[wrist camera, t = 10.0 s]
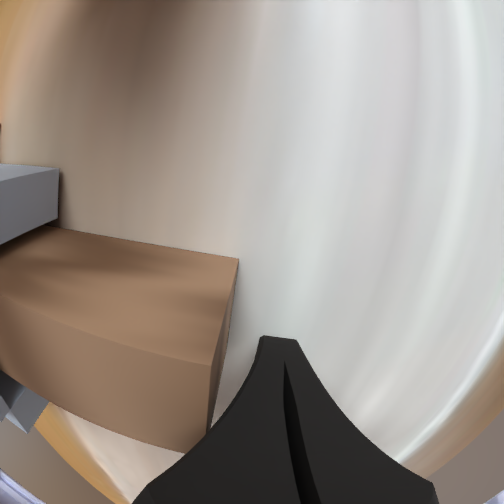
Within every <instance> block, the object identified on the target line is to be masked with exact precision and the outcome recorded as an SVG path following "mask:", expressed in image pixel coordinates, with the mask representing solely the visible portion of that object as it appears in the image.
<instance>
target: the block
mask: <svg viewBox="0 0 504 504" xmlns="http://www.w3.org/2000/svg"><path fill="white" fill-rule="evenodd" d="M58 183H59V168H51V167H40V166H28V165H15V164H0V245H1V244H3V243H5V242H7V241H9V240H11V239H13V238H15V237H17V236H19V235H21V234H23V233H25V232H27V231H30V230H32V229H34V228H36V227H38V226H41V225H43V224H45V223H47V222H50V221H52V220H54V219H57V218H58ZM48 403H49V401H48V400H46V399H45V398H43V397H41V396H39V395H38V394H36V393H35V392H33V391H31V390H30V389H28V388H27V387H25V386H24V385H22V384H20V383H19V382H18V381H16V380H15V379H13V378H12V377H10V376H9V375H8V374H6V373H5V372H3V371H2V370H1V369H0V421H1V422H2V421H3V419H4V417H6V418H8V419H9V420H10V421H11V422H13V423H14V424H15V425H16V426H18V427H19V428H20V429H22V430H23V431H24V432H26V433H27V434H28V433H29V431H30V430H31V428H32V427H33V425H34V424H35V422H36V421H37V419H38V418H39V416H40V415H41V413H42V412H43V410H44V409H45V407H46V406H47V404H48Z"/></svg>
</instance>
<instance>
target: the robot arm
mask: <svg viewBox="0 0 504 504" xmlns="http://www.w3.org/2000/svg"><path fill="white" fill-rule="evenodd" d="M0 504H46V503H45V502H43V501H42V500H40V499H39V498H37V497H36V496H34V495H33V494H31V493H30V492H29V491H27V490H26V489H25V488H23V487H22V485H20V484H19V483H18V482H17V481H15V480H14V479H13V478H12V477H10V476H9V475H8V474H7V473H5V472H4V471H3V470H2V469H1V468H0ZM132 504H439V502H438V498H437V495H436V492H435V488H434V486H433V483H432V482H430V481H428V480H426V479H424V478H422V477H420V476H419V475H417V474H415V473H413V472H411V471H410V470H408V469H406V468H405V467H403V466H402V465H400V464H399V463H397V462H396V461H395V460H393V459H392V458H390V457H389V456H388V455H386V454H385V453H384V452H383V451H381V450H380V449H379V448H378V447H377V446H376V445H374V444H373V443H372V442H371V441H370V440H369V439H368V438H367V437H365V436H364V435H363V434H362V433H361V432H360V431H359V430H358V429H357V428H356V427H355V426H354V424H353V423H352V422H351V421H350V420H349V419H348V418H347V417H346V416H345V414H344V413H343V412H342V411H341V409H340V408H339V407H338V406H337V404H336V403H335V402H334V400H333V399H332V398H331V396H330V395H329V393H328V392H327V391H326V389H325V388H324V386H323V385H322V383H321V381H320V380H319V378H318V377H317V375H316V374H315V372H314V370H313V369H312V367H311V365H310V363H309V362H308V360H307V358H306V356H305V355H304V353H303V351H302V349H301V347H300V345H299V343H298V342H297V340H294V339H287V338H279V337H272V336H265V335H264V336H262V337H260V339H259V343H258V348H257V352H256V356H255V360H254V363H253V365H252V367H251V369H250V371H249V374H248V376H247V378H246V379H245V381H244V383H243V385H242V386H241V388H240V390H239V391H238V393H237V395H236V396H235V398H234V399H233V401H232V402H231V404H230V405H229V406H228V408H227V409H226V411H225V412H224V413H223V415H222V416H221V417H220V418H219V420H218V421H217V422H216V423H215V424H214V425H213V427H212V428H211V429H210V430H209V431H208V432H207V434H206V435H205V436H204V437H203V438H202V439H201V440H200V441H199V442H198V443H197V444H196V445H195V446H194V447H193V448H192V449H191V450H190V451H188V452H187V453H186V454H185V455H184V456H183V457H182V458H181V459H180V460H179V461H177V462H176V463H175V464H174V465H173V466H171V467H170V468H169V469H167V470H166V471H165V472H163V473H162V474H161V475H159V476H158V477H157V478H155V479H154V480H152V481H151V482H150V483H148V484H147V485H146V487H145V488H144V489H143V490H142V492H141V493H140V494H139V495H138V496H137V498H136V499H135V500H134V501H133V503H132ZM484 504H504V490H503V491H501V492H500V493H498V494H497V495H496V496H494V497H493V498H491V499H490V500H488V501H487V502H485V503H484Z"/></svg>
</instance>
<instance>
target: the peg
mask: <svg viewBox="0 0 504 504" xmlns="http://www.w3.org/2000/svg"><path fill="white" fill-rule="evenodd" d="M238 262H239V259H236V258H230V257H224V256H218V255H212V254H206V253H200V252H194V251H188V250H182V249H176V248H170V247H165V246H159V245H153V244H147V243H141V242H135V241H130V240H124V239H118V238H113V237H107V236H101V235H96V234H90V233H84V232H79V231H73V230H68V229H62V228H57V227H51V226H46V225H41V226H38V227H36V228H34V229H32V230H30V231H27V232H25V233H23V234H21V235H19V236H17V237H15V238H13V239H11V240H9V241H7V242H5V243H3V244H1V245H0V369H1V370H2V371H3V372H5V373H6V374H8V375H9V376H10V377H12V378H13V379H15V380H16V381H18V382H19V383H20V384H22V385H24V386H25V387H27V388H28V389H30V390H31V391H33V392H35V393H36V394H38V395H39V396H41V397H43V398H45V399H46V400H48V401H50V402H52V403H53V404H55V405H57V406H59V407H61V408H63V409H65V410H66V411H68V412H70V413H72V414H74V415H77V416H79V417H81V418H83V419H85V420H87V421H89V422H92V423H94V424H96V425H99V426H101V427H103V428H106V429H108V430H111V431H113V432H116V433H119V434H121V435H124V436H127V437H130V438H133V439H135V440H139V441H142V442H145V443H148V444H151V445H155V446H158V447H162V448H165V449H169V450H173V451H177V452H181V453H185V454H186V453H187V452H188V451H190V450H191V449H192V448H193V447H194V446H195V445H196V444H197V443H198V442H199V441H200V440H201V439H202V438H203V437H204V436H205V435H206V434H207V432H208V431H209V430H210V428H211V423H212V418H213V413H214V408H215V403H216V398H217V393H218V388H219V383H220V378H221V373H222V368H223V363H224V359H225V354H226V348H227V341H228V334H229V326H230V319H231V312H232V304H233V297H234V290H235V283H236V276H237V269H238Z"/></svg>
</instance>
